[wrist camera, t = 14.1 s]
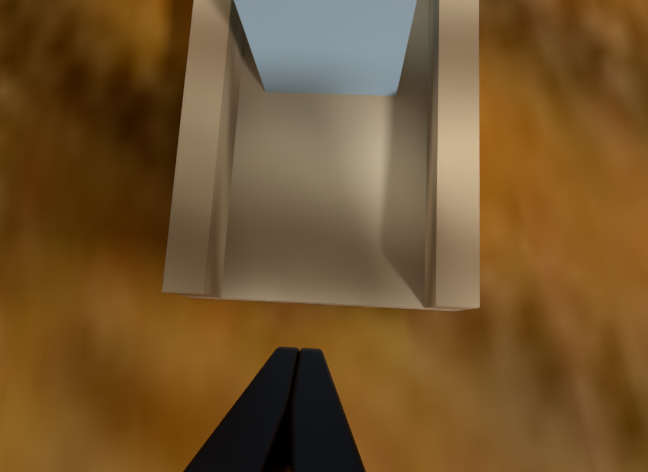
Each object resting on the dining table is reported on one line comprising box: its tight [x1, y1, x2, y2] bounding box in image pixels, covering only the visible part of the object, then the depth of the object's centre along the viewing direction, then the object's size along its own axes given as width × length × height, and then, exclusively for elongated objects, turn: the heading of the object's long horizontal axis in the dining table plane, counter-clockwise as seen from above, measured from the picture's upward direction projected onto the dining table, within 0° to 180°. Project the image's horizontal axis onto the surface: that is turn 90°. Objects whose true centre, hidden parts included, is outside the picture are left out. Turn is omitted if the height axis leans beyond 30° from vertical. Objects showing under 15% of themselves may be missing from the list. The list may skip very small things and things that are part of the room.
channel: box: [162, 0, 480, 311], centre depth 15 cm, size 15×9×6 cm, turn 177°
